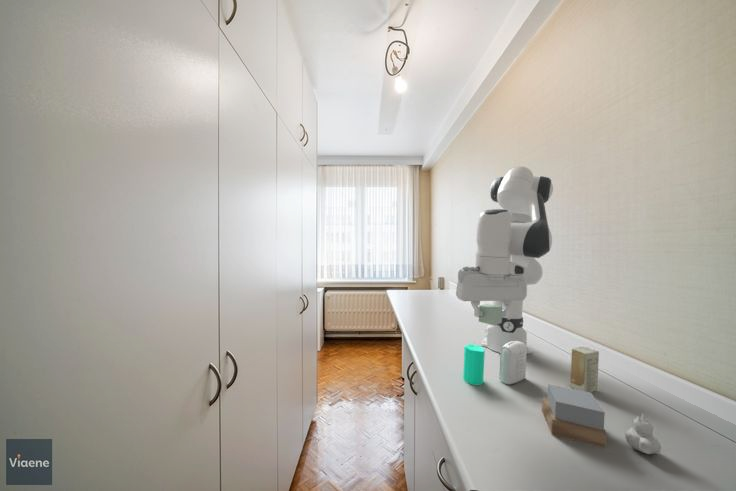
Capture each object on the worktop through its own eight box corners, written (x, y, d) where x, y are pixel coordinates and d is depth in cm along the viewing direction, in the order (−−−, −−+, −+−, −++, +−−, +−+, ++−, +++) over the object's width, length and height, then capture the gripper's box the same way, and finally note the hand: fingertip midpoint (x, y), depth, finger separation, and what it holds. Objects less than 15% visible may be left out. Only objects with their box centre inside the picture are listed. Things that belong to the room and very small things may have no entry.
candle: (469, 385, 85) (471, 346, 85) (459, 376, 91) (461, 339, 91) (487, 384, 86) (489, 346, 86) (476, 375, 92) (477, 339, 92)
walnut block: (541, 412, 73) (542, 397, 73) (587, 422, 70) (588, 406, 70) (551, 436, 64) (552, 419, 64) (605, 449, 60) (606, 431, 60)
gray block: (547, 399, 73) (548, 383, 73) (589, 408, 69) (590, 392, 69) (555, 418, 64) (555, 401, 64) (603, 430, 61) (604, 412, 61)
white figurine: (655, 448, 61) (656, 411, 61) (665, 467, 56) (667, 428, 55) (622, 437, 64) (623, 403, 64) (628, 455, 59) (630, 417, 58)
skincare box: (582, 384, 89) (584, 346, 89) (598, 391, 85) (600, 351, 85) (569, 386, 87) (570, 347, 87) (583, 394, 83) (585, 353, 82)
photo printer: (514, 373, 95) (516, 337, 94) (527, 378, 91) (529, 341, 91) (497, 380, 89) (498, 342, 89) (510, 386, 85) (512, 346, 85)
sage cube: (485, 318, 81) (486, 303, 81) (501, 322, 78) (502, 306, 77) (478, 321, 78) (479, 305, 78) (494, 325, 74) (495, 308, 74)
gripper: (465, 267, 72) (463, 320, 72) (531, 268, 77) (529, 318, 77) (452, 265, 78) (450, 314, 78) (515, 266, 83) (513, 312, 83)
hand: (490, 316), depth 78 cm, fingers closed on sage cube, 6 cm apart
